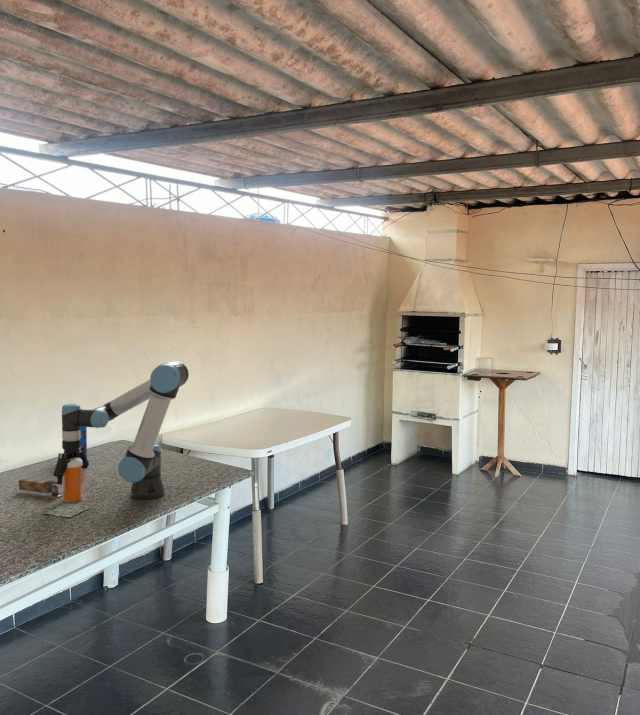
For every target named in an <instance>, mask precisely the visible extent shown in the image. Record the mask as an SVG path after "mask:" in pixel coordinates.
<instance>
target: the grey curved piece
mask: <svg viewBox="0 0 640 715" xmlns="http://www.w3.org/2000/svg"><path fill="white" fill-rule="evenodd" d="M60 497H61V498H62V497H63V493H60V491H58V484H52V486H51V493H49V494H48V495H47V498H48V499H50V498H51V500H53V499H54V498H57V499H59V498H60Z"/></svg>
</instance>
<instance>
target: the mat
mask: <svg viewBox="0 0 640 715" xmlns="http://www.w3.org/2000/svg"><path fill="white" fill-rule="evenodd" d="M73 505H74V506H75V505H76V504H73V503H67V502H64V503H62V504H61V505H59V506H55V508H57V507H69V506H70V507H71V506H73ZM78 505H79V506H81V505H80V504H78ZM84 506H85V505H84ZM85 507H86V506H85Z"/></svg>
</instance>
